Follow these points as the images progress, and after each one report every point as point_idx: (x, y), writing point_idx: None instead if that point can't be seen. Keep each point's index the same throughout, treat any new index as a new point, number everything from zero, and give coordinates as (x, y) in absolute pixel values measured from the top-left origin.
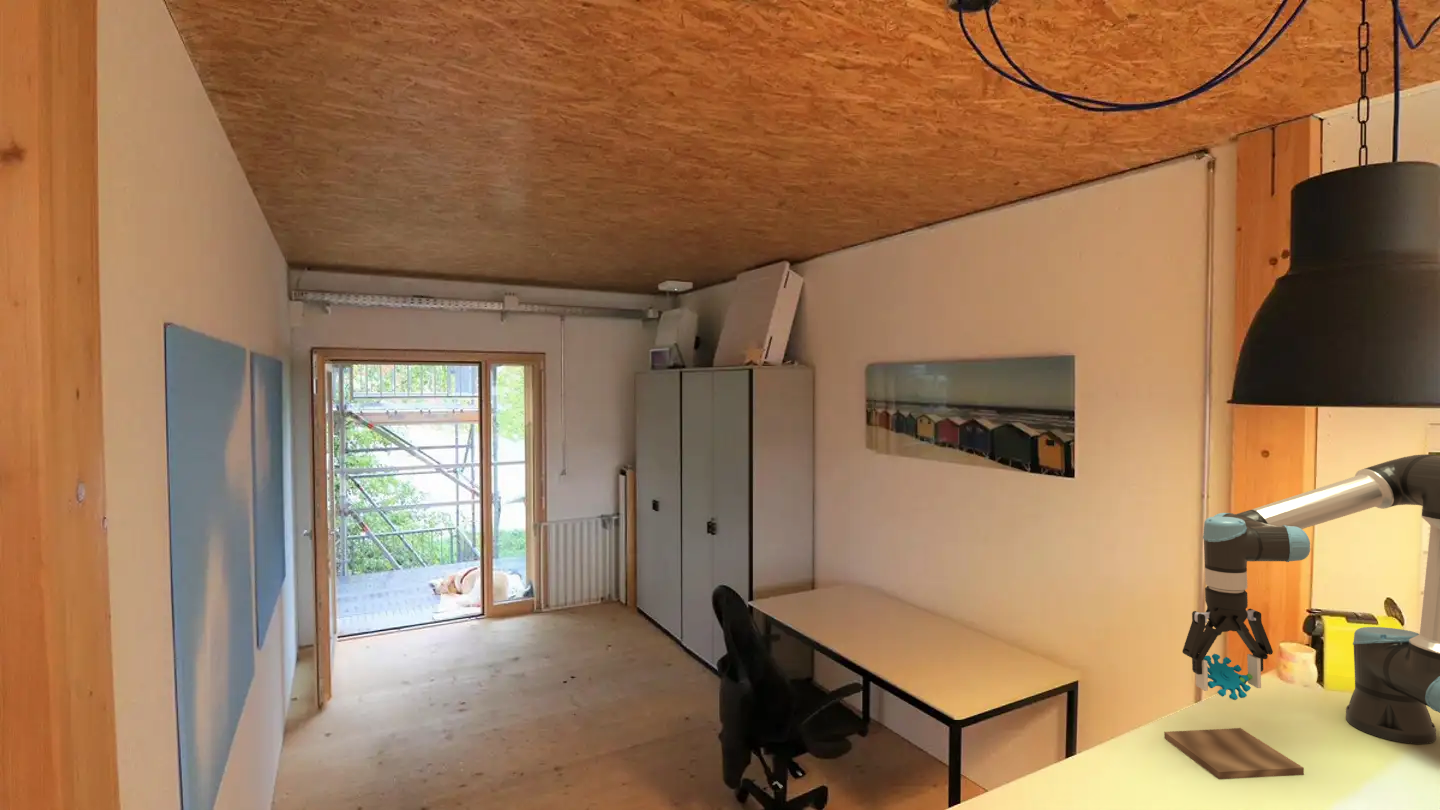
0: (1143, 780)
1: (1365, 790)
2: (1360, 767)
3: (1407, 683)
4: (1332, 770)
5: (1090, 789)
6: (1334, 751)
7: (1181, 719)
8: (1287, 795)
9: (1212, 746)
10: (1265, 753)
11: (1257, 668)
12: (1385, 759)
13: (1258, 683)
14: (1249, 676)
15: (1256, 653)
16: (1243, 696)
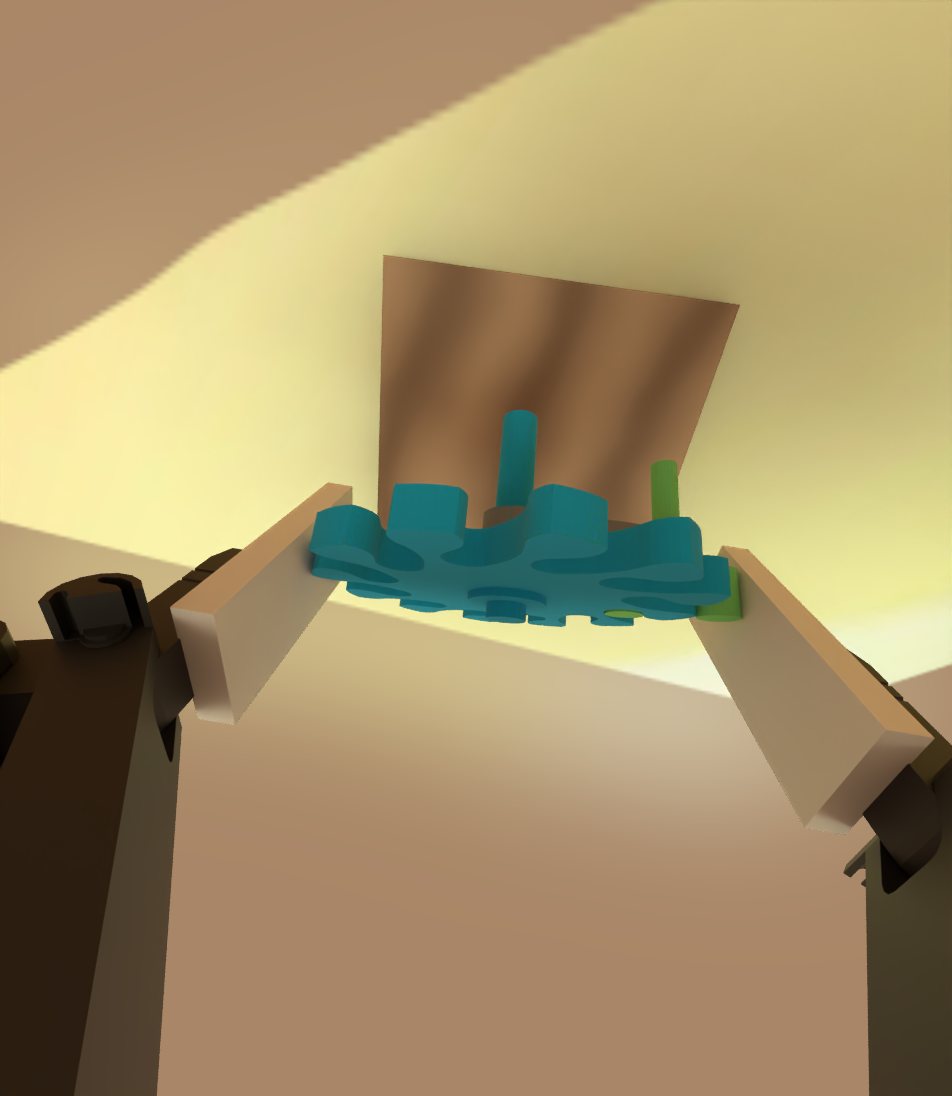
0: (177, 492)
1: (699, 661)
2: (839, 591)
3: None
4: None
5: (25, 493)
6: (900, 504)
7: (614, 69)
8: (492, 629)
9: (479, 418)
10: (613, 501)
11: (754, 733)
12: None
13: (705, 643)
14: (711, 617)
15: (909, 847)
16: (535, 624)
